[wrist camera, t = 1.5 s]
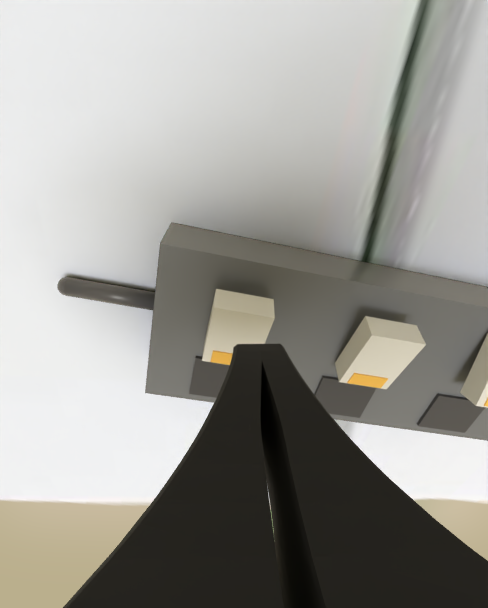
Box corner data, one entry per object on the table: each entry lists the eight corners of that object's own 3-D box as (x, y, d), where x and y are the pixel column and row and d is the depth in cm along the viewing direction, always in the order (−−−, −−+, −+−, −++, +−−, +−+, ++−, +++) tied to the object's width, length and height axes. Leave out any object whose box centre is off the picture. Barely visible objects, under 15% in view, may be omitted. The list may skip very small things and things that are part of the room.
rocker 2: (416, 325, 16) (426, 345, 15) (379, 370, 18) (386, 390, 17) (365, 316, 16) (372, 336, 15) (334, 363, 18) (339, 383, 17)
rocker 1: (273, 299, 15) (274, 319, 14) (254, 350, 17) (254, 370, 17) (216, 288, 15) (213, 308, 14) (204, 342, 17) (201, 362, 16)
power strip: (545, 299, 20) (595, 330, 17) (464, 405, 24) (493, 443, 22) (58, 199, 16) (22, 218, 14) (66, 344, 21) (40, 381, 18)
